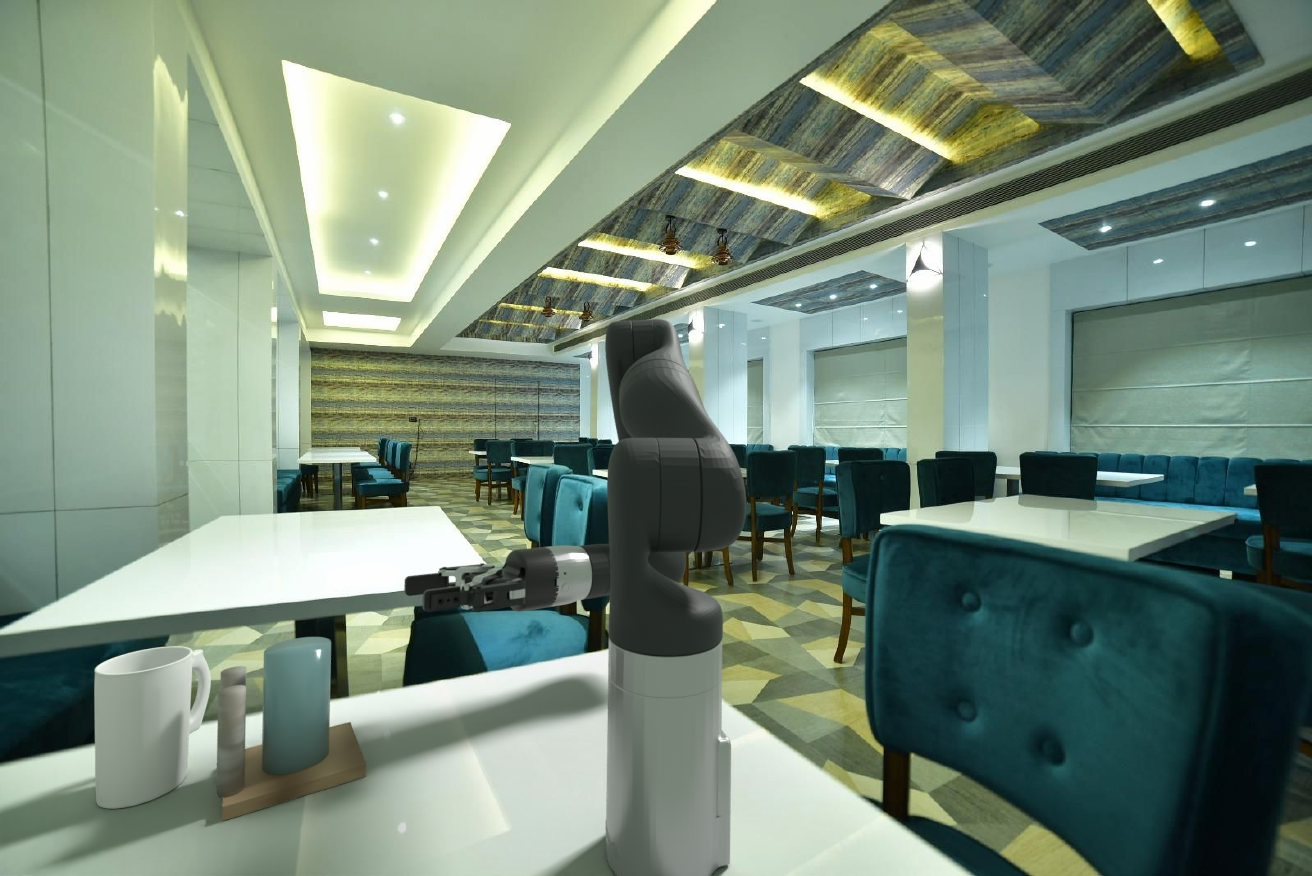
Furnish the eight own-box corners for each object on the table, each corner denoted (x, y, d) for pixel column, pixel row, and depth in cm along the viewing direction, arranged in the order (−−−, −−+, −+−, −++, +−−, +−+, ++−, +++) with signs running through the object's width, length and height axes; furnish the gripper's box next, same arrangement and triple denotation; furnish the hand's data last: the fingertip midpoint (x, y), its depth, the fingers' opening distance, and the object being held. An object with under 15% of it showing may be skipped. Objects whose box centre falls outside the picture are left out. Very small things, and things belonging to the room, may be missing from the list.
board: (350, 732, 62) (351, 641, 62) (365, 776, 54) (367, 671, 54) (219, 767, 55) (221, 664, 55) (214, 823, 47) (216, 703, 47)
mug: (137, 815, 48) (140, 676, 48) (69, 808, 49) (72, 672, 49) (237, 751, 58) (239, 636, 58) (179, 746, 59) (181, 633, 59)
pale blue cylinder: (335, 739, 58) (337, 634, 58) (319, 769, 53) (321, 654, 53) (274, 747, 57) (276, 639, 57) (251, 779, 51) (253, 660, 51)
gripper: (526, 540, 77) (400, 551, 67) (574, 554, 66) (431, 569, 56) (525, 595, 77) (398, 613, 67) (574, 618, 65) (429, 645, 56)
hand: (413, 593), depth 61 cm, fingers open, 8 cm apart
